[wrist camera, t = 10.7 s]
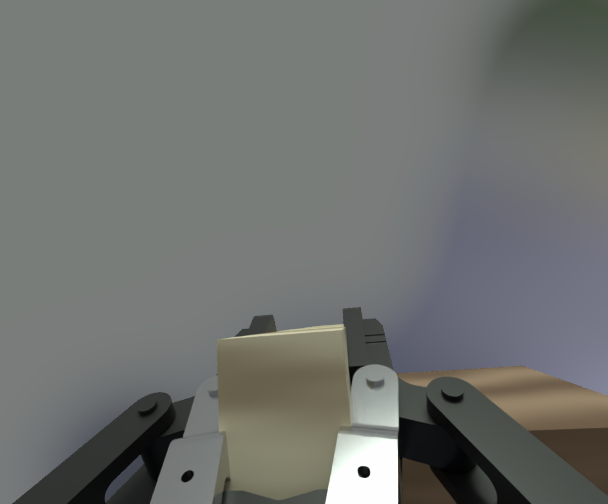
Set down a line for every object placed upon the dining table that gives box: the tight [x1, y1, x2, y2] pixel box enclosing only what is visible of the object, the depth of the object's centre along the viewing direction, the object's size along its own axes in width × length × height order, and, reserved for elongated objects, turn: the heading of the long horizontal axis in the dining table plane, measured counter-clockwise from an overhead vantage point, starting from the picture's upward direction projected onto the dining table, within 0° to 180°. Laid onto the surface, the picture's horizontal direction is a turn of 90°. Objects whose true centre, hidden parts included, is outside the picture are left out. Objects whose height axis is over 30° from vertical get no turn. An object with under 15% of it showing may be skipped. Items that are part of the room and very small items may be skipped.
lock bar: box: [217, 324, 352, 500], centre depth 19 cm, size 23×3×4 cm, turn 172°
